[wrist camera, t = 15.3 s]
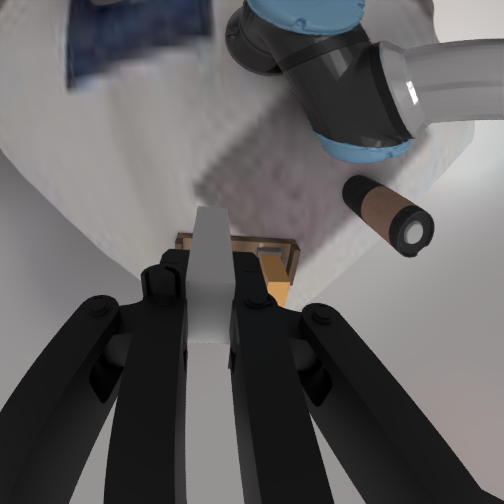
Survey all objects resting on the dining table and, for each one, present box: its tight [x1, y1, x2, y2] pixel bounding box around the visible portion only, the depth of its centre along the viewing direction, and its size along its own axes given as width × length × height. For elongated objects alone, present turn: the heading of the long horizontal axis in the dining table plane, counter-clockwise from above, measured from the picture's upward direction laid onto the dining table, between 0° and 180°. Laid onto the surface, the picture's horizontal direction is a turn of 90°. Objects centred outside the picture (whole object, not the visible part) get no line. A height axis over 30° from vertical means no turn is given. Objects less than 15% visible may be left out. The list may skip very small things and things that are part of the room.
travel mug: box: [342, 175, 434, 258], centre depth 42 cm, size 8×8×20 cm
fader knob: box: [256, 248, 290, 306], centre depth 49 cm, size 4×6×10 cm
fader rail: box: [175, 233, 301, 285], centre depth 53 cm, size 23×8×4 cm, turn 83°
